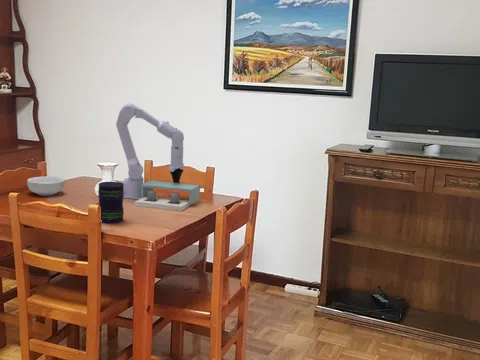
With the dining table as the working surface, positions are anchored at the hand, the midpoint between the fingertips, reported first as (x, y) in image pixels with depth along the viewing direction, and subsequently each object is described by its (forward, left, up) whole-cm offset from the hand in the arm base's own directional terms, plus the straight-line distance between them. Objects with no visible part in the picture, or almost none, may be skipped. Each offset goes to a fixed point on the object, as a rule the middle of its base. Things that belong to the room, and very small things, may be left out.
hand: (176, 184), depth 270 cm
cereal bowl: (-58, -18, -7) cm, 61 cm away
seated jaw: (+6, -16, -7) cm, 19 cm away
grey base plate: (0, -16, -7) cm, 18 cm away
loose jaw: (-5, -16, -7) cm, 19 cm away
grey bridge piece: (0, -7, -7) cm, 10 cm away
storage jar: (-9, -49, -7) cm, 51 cm away
